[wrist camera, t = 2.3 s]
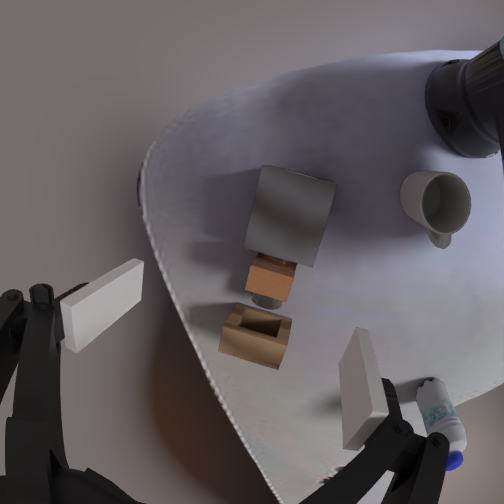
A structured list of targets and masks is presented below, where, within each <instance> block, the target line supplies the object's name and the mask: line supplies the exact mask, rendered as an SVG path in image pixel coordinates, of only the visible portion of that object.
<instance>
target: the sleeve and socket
mask: <svg viewBox="0 0 504 504" xmlns="http://www.w3.org/2000/svg"><path fill="white" fill-rule="evenodd" d="M285 170H287V169H283V168H279V167H275V166H271V165H269V166H268V165H262V169H261V173H260V177H259V181H258V186H257V190H256V194H255V198H254V202H253V207H252V211H251V215H250V220H249V224H248V228H247V232H246V237H245V241H244V245H243V248H247V249H250V250H254V251H257V252H261V253H264V254H268V255H271V256H274V257H278V258H281V259H285V260H288V261H292V262H295V263H299V264H302V265H305V266H309V267H312V268H313V265H314V262H315V258H316V255H317V252H318V249H319V246H320V242H321V239H322V236H323V232H324V229H325V225H326V222H327V219H328V215H329V212H330V208H331V205H332V201H333V197H334V194H335V190H336V186H337V185H336V184H335V183H333V182H330V181H327V180H323V179H320V178H318V179H315V178H316V177H315V178H312V177H313V176H312V177H308V176H309V175H308V176H304V175H301V174H302V173H301V174H297V173H298V172H297V173H293V172H294V171H293V172H289V171H290V170H289V171H285ZM291 323H292V319H291V318H288V317H284V316H281V315H277V314H274V313H271V312H267V311H264V310H261V309H257V308H254V307H251V306H248V305H244V304H241V303H238V302H237V304H236V306H235V308H234V309H233V311H232V313H231V314H230V316H229V318H228V319H227V321H226V323H225V324H224V326H223V330H222V335H221V339H220V344H219V349H218V351H220V352H222V353H225V354H228V355H231V356H234V357H237V358H241V359H244V360H247V361H250V362H253V363H257V364H260V365H263V366H267V367H270V368H273V369H277V370H278V369H279V366H280V364H281V361H282V358H283V356H284V353H285V351H286V348H287V345H288V339H289V334H290V329H291Z"/></svg>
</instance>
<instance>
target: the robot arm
mask: <svg viewBox="0 0 504 504" xmlns="http://www.w3.org/2000/svg"><path fill="white" fill-rule="evenodd" d="M425 100H426V107H427V111H428V114H429V117H430V120H431V122H432V124H433V126H434V128H435V130H436V131H437V133H438V134H439V136H440V137H441V138H442V140H443V141H444V142H445V143H446V144H447V145H448V146H449V147H450V148H452V149H453V150H454V151H456V152H457V153H459V154H461V155H463V156H466V157H469V158H487V157H491V156H493V155H495V154H497V153H498V152H499V151H500V150H501V156H502V164H503V173H504V36H503V37H502V38H501V40H500V41H498V42H497V43H495V44H494V45H492V46H490V47H489V48H488V49H486V50H484V51H483V52H481V53H480V54H478V55H477V56H475V57H474V58H472V59H460V60H459V59H456V60H450V61H447V62H444V63H443V64H441V65H440V66H438V67H437V68H436V69H435V70H434V71H433V72H432V73H431V75H430V76H429V78H428V81H427V84H426V90H425ZM143 268H144V261H141V260H138V259H135V258H133V259H131V260H130V261H128V262H126V263H124V264H122V265H121V266H119V267H117V268H115V269H114V270H112V271H110V272H108V273H107V274H105V275H103V276H101V277H99V278H98V279H96V280H94V281H93V282H91V283H83V284H79V285H77V286H76V287H74V288H73V289H70V290H69V291H68V292H65V293H64V294H62V295H60V296H58V297H57V298H55V299H54V293H53V288H52V287H51V286H50V285H48V284H36V285H34V286H32V287H31V288H30V289H29V292H30V299H31V302H28V301H24V298H23V293H22V292H21V291H19V290H14V289H12V290H8V291H6V292H4V293H3V294H2V296H1V297H0V404H1V401H2V399H3V396H4V394H5V391H6V389H7V387H8V384H9V382H10V379H11V377H12V375H13V372H14V371H15V368H16V366H17V364H18V369H17V376H16V383H15V392H14V402H13V414H12V417H8V418H7V419H6V431H5V469H6V475H4V476H0V504H145V503H141V502H137V501H135V500H134V499H133V498H131V497H130V496H129V495H127V494H126V493H125V492H124V491H123V490H121V489H120V488H119V487H118V486H117V485H115V484H114V483H113V482H112V481H110V480H108V479H106V478H105V477H103V476H101V475H100V474H98V473H96V472H95V471H93V470H91V469H90V468H87V469H86V471H85V472H83V471H80V470H75V469H70V468H69V466H68V463H67V460H66V456H65V450H64V441H63V432H62V419H61V399H60V356H61V344H60V341H61V340H62V339H64V338H65V343H66V347H67V348H69V349H70V350H72V351H73V352H75V353H78V352H79V351H80V350H82V349H83V348H84V347H85V346H86V345H87V344H89V343H90V342H91V341H92V340H93V339H95V338H96V337H97V336H98V335H99V334H100V333H102V332H103V331H104V330H105V329H106V328H108V327H109V326H110V325H111V324H112V323H114V322H115V321H116V320H117V319H118V318H120V317H121V316H122V315H123V314H124V313H126V312H127V311H128V310H129V309H131V308H132V307H133V306H134V305H136V304H137V303H138V302H139V301H140V300H141V292H142V279H143ZM18 362H19V363H18ZM339 374H340V388H341V405H342V429H343V449H348V450H356V451H358V450H359V449H360V448H361V447H362V446H363V445H364V444H365V448H364V449H363V450H362V451H361V452H360V453H359V454H358V455H357V456H356V457H355V458H354V459H353V460H352V461H351V462H350V463H348V464H347V465H346V466H345V467H344V468H343V469H342V470H341V471H339V472H338V473H337V474H336V475H335V476H334V477H332V478H331V479H330V480H329V481H328V482H326V483H325V484H324V485H323V486H321V487H320V488H319V489H318V490H316V491H315V492H314V493H312V494H311V495H310V496H308V497H307V498H306V499H304V500H303V501H302V502H300V503H299V504H356V503H357V502H358V501H359V500H360V499H361V498H362V497H363V496H364V495H365V494H366V493H367V492H368V491H369V490H370V489H371V488H372V487H373V486H374V485H375V483H376V482H377V481H378V480H379V479H380V478H381V477H382V475H383V474H384V473H385V472H386V471H387V470H389V471H392V472H395V473H394V476H393V478H392V480H391V483H390V485H389V487H388V489H387V492H386V494H385V496H384V498H383V500H382V502H381V504H438V500H439V497H440V493H441V489H442V485H443V480H444V476H445V471H446V466H447V461H448V456H449V450H450V442H449V440H448V438H447V437H446V436H445V435H443V434H442V433H439V432H432V433H431V434H429V436H428V437H427V438H426V437H423V436H420V435H417V434H415V433H414V430H413V428H412V426H411V425H410V424H409V423H408V422H407V421H405V420H403V418H402V414H401V410H400V406H399V402H398V401H397V400H398V399H397V395H396V391H395V388H394V386H393V384H392V383H391V381H390V380H389V379H385V378H381V376H380V372H379V368H378V364H377V360H376V356H375V353H374V349H373V345H372V342H371V338H370V335H369V331H368V330H366V329H362V328H358V327H356V329H355V331H354V333H353V335H352V338H351V340H350V342H349V344H348V346H347V348H346V350H345V352H344V354H343V356H342V358H341V360H340V362H339Z"/></svg>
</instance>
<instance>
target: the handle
mask: <svg viewBox="0 0 504 504" xmlns="http://www.w3.org/2000/svg"><path fill="white" fill-rule="evenodd" d="M285 171H289V170H285ZM289 172H293V171H289ZM293 173H297V172H293ZM297 174H301V173H297ZM301 175H304V176H308V175H305V174H301ZM308 177H312V176H308ZM312 178H315V177H312ZM315 179H318V178H315ZM296 265H297V263H295V262H292V261H288V260H285V259H281V258H278V257H274V256H271V255H268V254H264V253H261V252H259V254H258V255H257V257H256V258H255V260H254V261H253V263H252V264H251V267H250V271H249V275H248V279H247V283H246V287H245V290H248V291H251V292H253V294H252V301H253V302H254V303H255V304H256V305H258V306H260V307H262V308H266V309H279V308H280V307H281V306H282V303H283V301H284V302H286V301H287V298H288V295H289V292H290V288H291V285H292V282H293V279H294V274H295V270H296Z"/></svg>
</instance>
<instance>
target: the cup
mask: <svg viewBox="0 0 504 504" xmlns="http://www.w3.org/2000/svg"><path fill="white" fill-rule="evenodd" d="M400 202H401V205H402V208H403V210H404V211H405V213H406V214H407V215H408V216H409V217H410V218H411V219H413V220H415V221H417V222H418V223H420V224H422V225H424V226H425V227H426V230H427V233H428V236H429V238H430V240H431V241H432V243H433V244H434V245H435V246H436V247H437V248H442V249H445V248H447V247H448V246H449V245H450V242H451V234H453V233H455V232H457V231H459V230H460V229H461V228H462V227H463V226H464V224H465V223H466V222H467V219H468V217H469V215H470V209H471V197H470V193H469V190H468V188H467V186H466V184H465V183H464V182H463V181H462V179H461V178H459V177H458V176H456V175H455V174H452V173H449V172H436V171H417V172H414V173H412V174H410V175H409V176H408V177H406V179H405V180H404V182H403V183H402V186H401V189H400Z"/></svg>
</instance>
